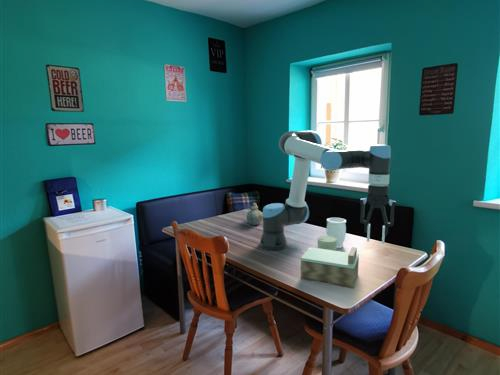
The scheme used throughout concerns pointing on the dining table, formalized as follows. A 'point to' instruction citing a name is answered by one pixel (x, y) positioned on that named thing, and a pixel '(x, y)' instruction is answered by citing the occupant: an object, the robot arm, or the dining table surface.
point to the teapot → (254, 215)
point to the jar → (337, 230)
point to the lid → (331, 257)
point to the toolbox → (329, 274)
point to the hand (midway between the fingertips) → (375, 241)
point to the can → (327, 242)
